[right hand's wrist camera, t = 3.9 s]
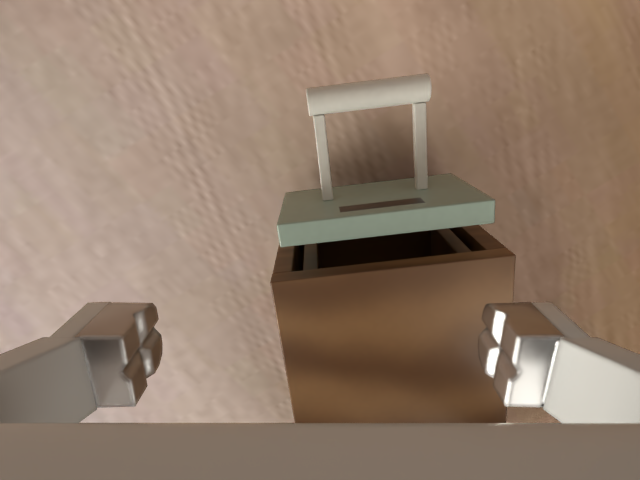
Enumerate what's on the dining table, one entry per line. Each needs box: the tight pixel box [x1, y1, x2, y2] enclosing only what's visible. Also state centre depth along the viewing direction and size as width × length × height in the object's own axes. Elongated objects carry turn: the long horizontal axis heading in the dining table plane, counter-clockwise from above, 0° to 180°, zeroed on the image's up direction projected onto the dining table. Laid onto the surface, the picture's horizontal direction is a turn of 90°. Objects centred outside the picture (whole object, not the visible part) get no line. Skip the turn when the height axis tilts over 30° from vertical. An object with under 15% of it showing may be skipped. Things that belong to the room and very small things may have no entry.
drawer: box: [277, 74, 495, 270], centre depth 24 cm, size 25×10×6 cm, turn 7°
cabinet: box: [270, 225, 515, 423], centre depth 26 cm, size 20×12×8 cm, turn 7°
